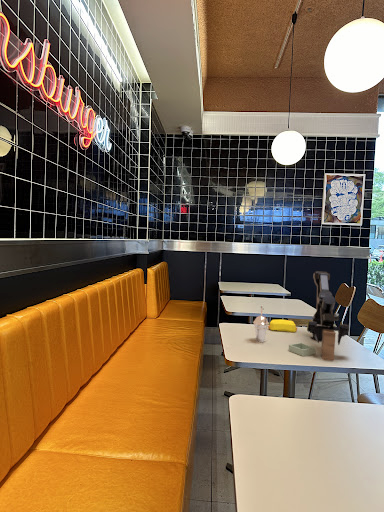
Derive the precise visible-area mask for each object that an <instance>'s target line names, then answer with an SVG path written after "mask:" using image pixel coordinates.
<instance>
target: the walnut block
mask: <svg viewBox="0 0 384 512" xmlns="http://www.w3.org/2000/svg"><path fill="white" fill-rule="evenodd" d="M335 345H336V331H334V330H325V329H323V335H322V340H321V350H320V351H321V352H320V357H321V358H322V360H329V361H334V360H335Z"/></svg>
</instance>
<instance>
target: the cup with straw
mask: <svg viewBox="0 0 384 512" xmlns="http://www.w3.org/2000/svg"><path fill="white" fill-rule="evenodd" d="M252 323H253V324H254V332H255V341H256V342H257V343H265V339H266V334H267V329H268V326H269V325H270V322H269V321H268V319H267V317H265V316H263V306H262V305H261V306H260V315H258V316H257V317H256V318H254V320H253V322H252Z"/></svg>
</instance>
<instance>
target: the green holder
mask: <svg viewBox="0 0 384 512" xmlns="http://www.w3.org/2000/svg"><path fill="white" fill-rule="evenodd" d="M288 351H289V352H291V353H293V354H296V355H299V356H301V357H306V356H312V355H316V354H317V347H315V346H312V345H309V344H306V343H303V342H297V343H292V344H288Z"/></svg>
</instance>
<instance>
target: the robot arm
mask: <svg viewBox="0 0 384 512" xmlns="http://www.w3.org/2000/svg"><path fill="white" fill-rule="evenodd" d="M330 277H331V274H330V273H328V271H319V270H317V271H315V272H314V273H313V277H312V279H313V280H314V281H313V282H314V284H315V286H316V311H315V313H314V314H313V317H312V319H311V320H310V321H308V322H307V325H306V331H307V332H309V333H310V334H312V336H310V338H311V339H312V340H316V343H320V342H322V335H323V329H325V330H334V331H335V332H338V333H337V344H338V345H337V346H340V344H341V340H342V337H346V336H347V335H348V333H349V332H350V331H349V330H350V327H349V325H348V324H345V323H344V324H341V323H340V324H339V326H335V322H336V321H339V320H340V314H339V313H336V312H334V313H333V310H334V308H335V304H337V303H336V302H337V300H336V298H335V297H334V295H333V294H332V292H331V291H330V288H329V287H330V285H329V280H330V279H331V278H330Z"/></svg>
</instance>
